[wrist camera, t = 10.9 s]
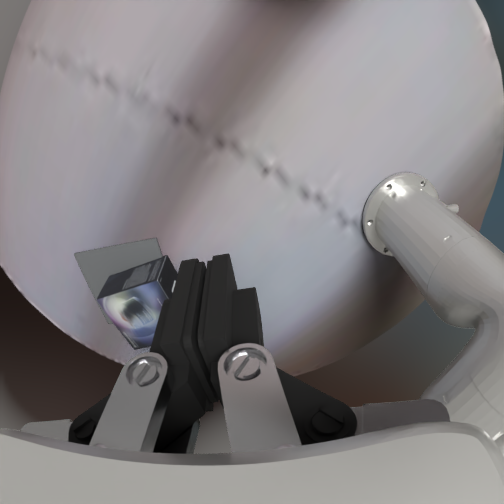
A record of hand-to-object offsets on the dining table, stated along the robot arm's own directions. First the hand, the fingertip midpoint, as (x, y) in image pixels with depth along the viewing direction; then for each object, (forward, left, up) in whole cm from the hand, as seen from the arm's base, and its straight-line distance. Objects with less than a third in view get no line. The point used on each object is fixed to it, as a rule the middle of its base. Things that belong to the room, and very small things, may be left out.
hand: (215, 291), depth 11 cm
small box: (+10, +18, -24) cm, 31 cm away
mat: (+19, +17, -27) cm, 37 cm away
